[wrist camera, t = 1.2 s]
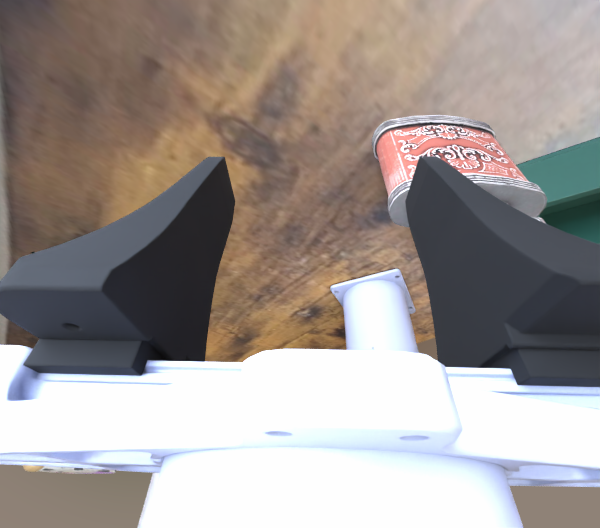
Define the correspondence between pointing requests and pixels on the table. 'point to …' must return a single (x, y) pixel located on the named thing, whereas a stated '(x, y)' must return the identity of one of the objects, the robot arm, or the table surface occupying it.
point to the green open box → (570, 188)
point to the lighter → (450, 160)
